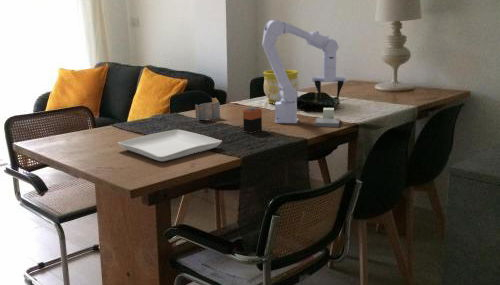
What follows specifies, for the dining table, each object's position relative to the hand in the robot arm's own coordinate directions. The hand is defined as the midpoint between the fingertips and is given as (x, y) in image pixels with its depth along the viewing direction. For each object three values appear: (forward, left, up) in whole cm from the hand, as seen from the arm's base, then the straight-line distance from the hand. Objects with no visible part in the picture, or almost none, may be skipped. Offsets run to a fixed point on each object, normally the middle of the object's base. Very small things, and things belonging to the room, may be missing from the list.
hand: (328, 98), depth 224 cm
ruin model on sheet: (-54, -5, -10) cm, 55 cm away
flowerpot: (-27, +40, -10) cm, 49 cm away
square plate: (-53, -57, -10) cm, 79 cm away
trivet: (0, -9, -10) cm, 13 cm away
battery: (-29, -26, -10) cm, 40 cm away
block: (0, 0, -10) cm, 10 cm away
